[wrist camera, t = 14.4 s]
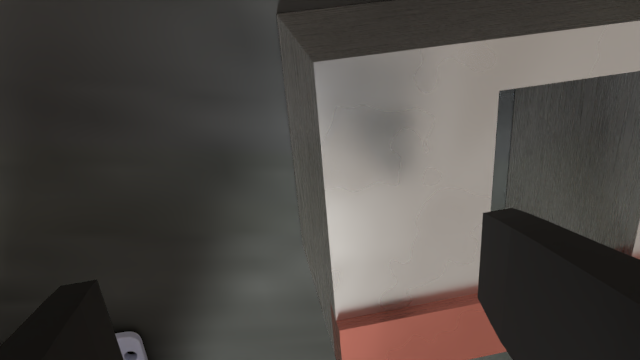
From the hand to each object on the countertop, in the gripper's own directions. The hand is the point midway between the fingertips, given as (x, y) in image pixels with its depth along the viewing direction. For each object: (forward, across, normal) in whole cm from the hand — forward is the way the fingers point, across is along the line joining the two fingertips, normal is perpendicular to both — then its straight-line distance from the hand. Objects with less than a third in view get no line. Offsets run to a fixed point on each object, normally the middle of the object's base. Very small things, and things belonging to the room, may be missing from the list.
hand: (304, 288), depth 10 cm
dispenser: (+10, -8, +1) cm, 12 cm away
